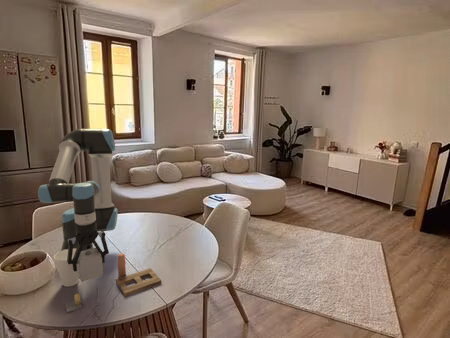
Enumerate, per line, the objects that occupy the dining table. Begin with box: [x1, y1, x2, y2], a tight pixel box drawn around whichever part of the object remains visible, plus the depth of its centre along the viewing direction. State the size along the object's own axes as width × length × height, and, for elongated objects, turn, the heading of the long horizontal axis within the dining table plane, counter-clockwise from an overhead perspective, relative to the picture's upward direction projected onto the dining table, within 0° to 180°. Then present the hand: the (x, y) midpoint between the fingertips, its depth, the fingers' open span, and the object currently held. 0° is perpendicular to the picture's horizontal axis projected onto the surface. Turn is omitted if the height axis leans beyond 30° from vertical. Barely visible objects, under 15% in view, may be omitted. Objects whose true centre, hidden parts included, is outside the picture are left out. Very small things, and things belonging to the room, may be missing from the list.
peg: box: [116, 253, 127, 278], centre depth 132 cm, size 3×3×10 cm
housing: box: [78, 247, 104, 283], centre depth 119 cm, size 8×8×10 cm
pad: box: [64, 293, 83, 314], centre depth 111 cm, size 5×5×5 cm
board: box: [115, 267, 162, 297], centre depth 127 cm, size 12×16×2 cm
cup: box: [53, 249, 79, 288], centre depth 125 cm, size 10×10×14 cm
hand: (89, 273), depth 119 cm, fingers closed on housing, 8 cm apart
